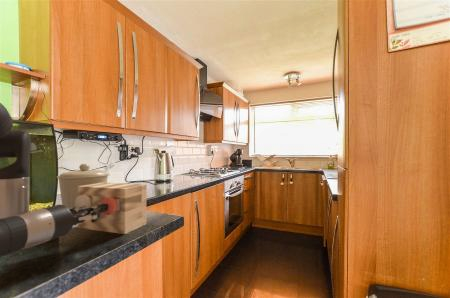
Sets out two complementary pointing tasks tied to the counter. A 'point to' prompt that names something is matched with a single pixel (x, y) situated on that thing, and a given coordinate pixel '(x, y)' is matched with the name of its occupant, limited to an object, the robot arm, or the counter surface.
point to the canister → (78, 182)
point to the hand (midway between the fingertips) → (105, 206)
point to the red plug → (111, 205)
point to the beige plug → (83, 200)
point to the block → (129, 206)
